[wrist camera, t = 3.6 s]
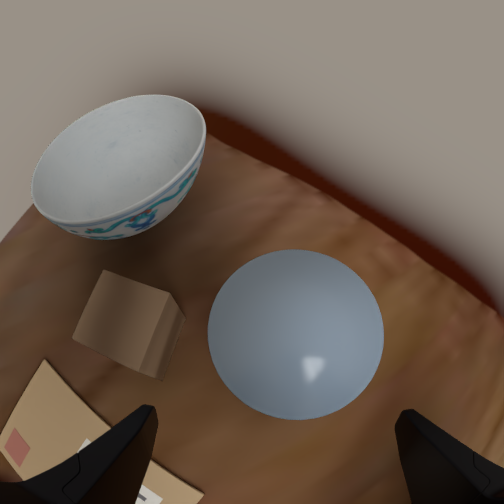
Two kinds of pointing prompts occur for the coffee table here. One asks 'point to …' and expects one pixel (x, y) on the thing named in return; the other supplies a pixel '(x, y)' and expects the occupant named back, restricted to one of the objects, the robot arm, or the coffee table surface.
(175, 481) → the envelope
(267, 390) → the grey cylinder
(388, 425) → the coffee table surface
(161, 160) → the chinaware
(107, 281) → the walnut block
